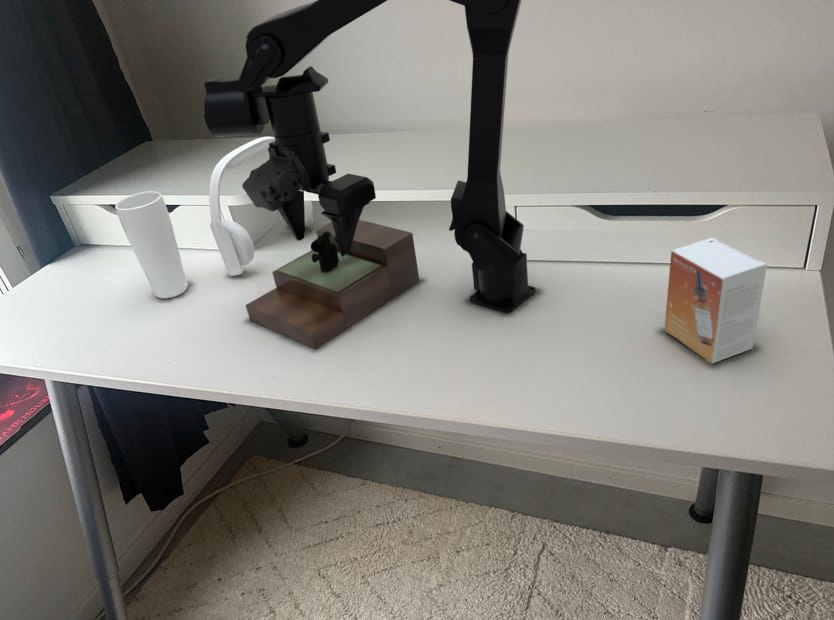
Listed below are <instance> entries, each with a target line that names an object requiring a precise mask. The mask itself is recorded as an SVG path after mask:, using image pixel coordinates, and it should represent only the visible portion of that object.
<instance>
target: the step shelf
mask: <svg viewBox="0 0 834 620" xmlns="http://www.w3.org/2000/svg"><path fill="white" fill-rule="evenodd" d="M315 231H316V236H317V238H318V237H319V236H322V235H323V233H324V232H326V231H329V232H330V233H331V237H330V243H331V244H335V245H336V249H337V254H338V259H339V262H338V264H337V265H336V266H335V267H334V268H332V269H331V270H330V271H328V272H325V273H321V268H320V264H319V260H318V261H317V262H315V263H314V262H313V261H312V255H313V254H314V253H315V254H318V252H314V251H312V249H311V250H309V251H307V252H306V253H304V254H302V255H300V256H299V257H297V258H295V259H293V260H291V261H289V262H288V263H286V264H284V265H282V266H280V267H278V268H276V269H275V270H273V271H271V272H272V273H271V274H272V276H273V280H274V284H275V288H273V289H271V290H269V291H268V292H266V293H264V294H262V295H261V296H259V297H257V298H255V299H254V300H252V301H250V302H249V303H247V304H245V308H246V312H247V314H248V318H249V321H250V322H252V323H255V324H258V325H260V326H262V327H264V328H267V329H268V330H271V331H273V332H275V333H278V334H281V335H283V336H285V337H287V338H289V339H292V340H294V341H296V342H298V343H301V344H303V345H306V346H308V347H310V348H312V349H314V350H316V349H318V348H319V347H321V346H322V345H324V344H325V343H327V342H328V341H330V340H332V339H333V338H335V337H336V336H338V335H339V334H341V333H342V332H343V331H345V330H347V329H348V328H350V327H351V326H353V325H354V324H356V323H358V322H359V321H361V320H363V319H364V318H365V317H367V316H368V315H370V314H371V313H373V312H374V311H376V310H377V309H379V308H381V307H382V306H384V305H385V304H387V303H388V302H390V301H392V300H393V299H395V298H396V297H398V296H399V295H401V294H403V293H404V292H405V291H407V290H409V289H410V288H411V287H412V286H414V285H416V284H418V283H420V275H419V267H418V260H417V255H416V248H415V240H414V235H413V232H411V231H407V230H402V229H399V228H396V227H395V228H394V227H390V226H387V225H383V224H379V223H375V222H370V221H367V220H362V219H359V221H358V224H357V227H356V231H355V234H354V238H353V241H352V245H351V248H350V251H349V252H348V253H347V254H344V255H345V256H344V257H342V256H341V251H340V248H339V245H338V242H336V241H335V237H336V235H335V231H334V228H333V224H332V221H329V222H328V223H326V224H324V225H323V226H321V227H319V228H317V229H315Z"/></svg>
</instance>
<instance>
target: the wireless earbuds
mask: <svg viewBox="0 0 834 620" xmlns="http://www.w3.org/2000/svg"><path fill="white" fill-rule="evenodd" d="M330 237H331V233H330V232H329V231H326V232H324V233H323V235H322V236H319V237H318V236H317V238H315V240H313V241H312V242H311V243H310V249H311V250H312V251H314V252H318V254H315V253H314V254H313V255H312V261H313V262H314V263H315V262H317V261H318V260H319V264H320V268H321V273H325V272H328V271H330V270H331V269H332V268H334V267H335V266H336V265H337V264H338V262H339V259H338V254H337V249H336V245H335V244H331V243H330ZM335 241H336V242H338V241H337V238H336V237H335ZM340 251H341V250H340ZM341 256H342V257H344V256H345V255H344V254H342V253H341Z"/></svg>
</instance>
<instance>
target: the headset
mask: <svg viewBox="0 0 834 620" xmlns="http://www.w3.org/2000/svg"><path fill="white" fill-rule="evenodd" d="M274 141H275V138H274V136H261V137H258V138H256V139H253V140H251V141H248V142H246V143H245V144H243V145H240V146H239V147H237V148H235V149H233V150H232V151H230V152H229V153H227V154H226V155H225V156H223V157H222V158H221V159H220V160H219V161H218V162H217V163H216V165H215V167H214V168H213V170H212V173H211V176H210V181H209V189H208V198H209V212H210V224H209V226H210V227H209V228H210V230H211V233H212V236H213V238H214V241H215V243H216V246H217V248H218V251H219V254H220V257H221V260H222V261H223V264H224V267H225V270H226V271H227V274H228V275H229V277H234V276H239V275H241V274H243V273H244V271H243V266H247V265H249V264H250V263H251V262H252V261H253V260H254V256H255V245H254V242H253V239H252V237H251V236H250V234H249V232H247V230H246V229H245V228H244V227H243V226H242V225H241V224H240V223H237V222H236V221H233V220H223V219H222V213H221V202H220V201H221V200H220V199H221V197H220V194H221V193H220V192H221V182H222V178H223V175H224V173H225V171H226V170H227V171H232V170H235V169H237V168H238V167H240V166H241V165H243V164H244V163H246V162H247V161H249V160H251V159H253V158H254V157H256V156H258V155H261V154H262V153H265V152H266V151H268V147H269V143H271V142H274ZM304 212H305V227H308V226H311V225H312V224H313V223H314V218H313V217H314V216H313V203H312V200H311V201H304Z"/></svg>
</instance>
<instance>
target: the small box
mask: <svg viewBox="0 0 834 620" xmlns="http://www.w3.org/2000/svg"><path fill="white" fill-rule="evenodd" d="M670 253H671V254H670V263H669V264H670V265H669V273H668V284H667V298H666V308H665V317H664V319H665V320H664V329H663V330H664V332H665V333H667V334H669V336H672V338H675V339H677V340H678V341H679V342H681V343H682V344H683V345H685V346H686V347H688V348H689V349H690V350H691V351H693V352H694V353H696V354H697V355H699V356H700V357H701V358H703V359H704V360H705V361H706V362H707V363H709V364H711V365H714V364H715V363H717V362H721V361H723V360H725V359H728V358H732V357H734V356H737V355H739V354H741V353H745V352H747V351H750V350H752V349H753V348H754V343H755V337H756V333H757V332H756V331H757V326H758V319H759V314H760V308H761V303H762V296H763V291H764V285H765V278H766V272H767V267H768V264H767V263H765V262H764V261H761V260H758V259H755V258H754V257H751V256H750V255H748V254H745V253H744V252H742V251H740V250H738V249H735V248H733V247H732V246H730V245H727V244H726V243H724V242H722V241H720V240H719V239H717V238H715V237H710V238H706V239H703V240H699V241H696V242H694V243H690V244H688V245H684V246H681V247H677V248H675V249H673V250H671V252H670Z"/></svg>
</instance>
